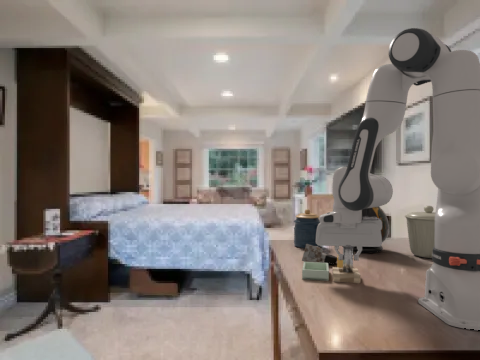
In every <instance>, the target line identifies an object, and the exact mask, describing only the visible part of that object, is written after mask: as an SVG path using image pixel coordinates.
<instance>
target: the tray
mask: <svg viewBox="0 0 480 360" xmlns="http://www.w3.org/2000/svg"><path fill="white" fill-rule="evenodd" d="M302 265H303V266H302V269H301V271H302V272H301V273H302V274H301V278H302V279H301V280H307V281H308V280H310V281H311V280H312V281H324V282H325V281H327V282H328V281H329V279H330V278H329V277H330V274H329V272H330V270H329V269H330V268H329V263H324V262H320V263H318V262H304V261H303V264H302Z"/></svg>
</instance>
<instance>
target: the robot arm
mask: <svg viewBox="0 0 480 360" xmlns="http://www.w3.org/2000/svg"><path fill="white" fill-rule="evenodd" d="M388 58H389V60H390V63H386V64H383V65H380V66H379V67H377V68H376V69H375V70H373V71H374V72H373V73H372V76H371V79H370V82H369V86H368V89H367V95H366V99H365V105H364V109H363V110H364V111H363V115H362V118H361V121H360V123H359V124H358V127H357V129H356V131H355V134H354V137H353V142H352V146H351V151H350V155H349V157H348V163H347V165H343V166H340V167H338V168H336V169H335V170H334V172H333V174H332V175H333V176H332V184H331V186H332V187H331V188H332V196H333V205H332V211H329V212H326V213H322V214H321V215H319V221H320V223H319V224H318V226H317V231H316V244H317V245H318V246H320V247H321V246H322V247H323V246H325V247H334V251H335V253H336V254H337V256H338V260H343V253H341V252H340V251H339V250H340V247H342V246H346V245H351V246H357V249H358V251H357V252H355V253H353V262H354V261H355V262H356V261H357V262H358V261H360V259H359V258H360V257H359V256H360V255H361V251H362V247H380V246H382V245H383V243H382V236H381V229H382V221H381V220H380V219H379V218H377V217H362V210H363V209H366V208H373V207H382V206H385V205H387V204H388V203H389V202H390V201H391V199H392V197H393V192H394V191H393V185H392V183H391V182H390V180H389V179H388V178H386V177H384V176H381V175H379V174H378V175H377V174H373V173H371V170H372V165H373V160H374V157H375V152H376V148H377V146H379V143H380V142H381V141H382V140H384V139H385V138H386V137H387V136H389V135H390V134H393V133H394V132H396V131H397V130H398V129H400V127H401V126H402V124H403V120H404V118H405V114H406V110H407V109H406V108H407V102H408V95H409V91H410V89H411V87H413V85H414V86H416V87H418V86H421V85H424V84H427V83H431V85H432V86H431V88H432V118H433V119H432V121H433V122H432V124H433V125H432V126H433V127H432V128H433V130H432V141H431V153H430V155H431V156H430V157H431V158H430V177H431V181H432V183H433V184H434V185H435V187H436V188H437V194H436V195H437V196H436V204H435V205H436V207H435V212H436V213H435V247H433V252H432V258H431V259H432V260H431V261H432V262H433V263H432V265H431V266H430V267H429V268H428V269H427V270H426V271H425V285H424V296H422V297H419V298H418V304H419V305H421V306H422V307H424V308H425V309H427V310H428V311H429V312H430V313H431V314H434V315H435V317H437V318H438V319H440V320H441V321H442V322H444V323H445V324H446V325H449V326H452V327H456V328H460V329H464V328H466V329H465V330H470V329H474V330H473V331H478V330H480V58H479V56H478V55H477V54H476V53H475V52H473V51H472V50H467V49H458V50H453V51H452V50H451V48H450V46H448V45H447V44H445V43H444V42H443V41H442V39H441V38H439V37H438V36H436V35H434V34H433V33H430V32H429V31H427V30H425V29H422V28H418V27H417V28H415V27H413V28H412V27H411V28H406V29H404V30H402V31H400V32H399V33H398V34H396V35H395V37H393V38H392V41H391V42H390V44H389V47H388ZM377 219H378V220H377Z"/></svg>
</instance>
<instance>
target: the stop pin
mask: <svg viewBox="0 0 480 360" xmlns="http://www.w3.org/2000/svg"><path fill="white" fill-rule="evenodd" d="M341 247H342V254H343V272H345V273H353V268H354V256H353V254H354V252H353V247H354V246H351V245H346V246H341Z"/></svg>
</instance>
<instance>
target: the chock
mask: <svg viewBox="0 0 480 360" xmlns="http://www.w3.org/2000/svg"><path fill="white" fill-rule="evenodd" d="M336 257H337V263H336V267H337V268H343V260H338V255H337V256H336Z"/></svg>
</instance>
